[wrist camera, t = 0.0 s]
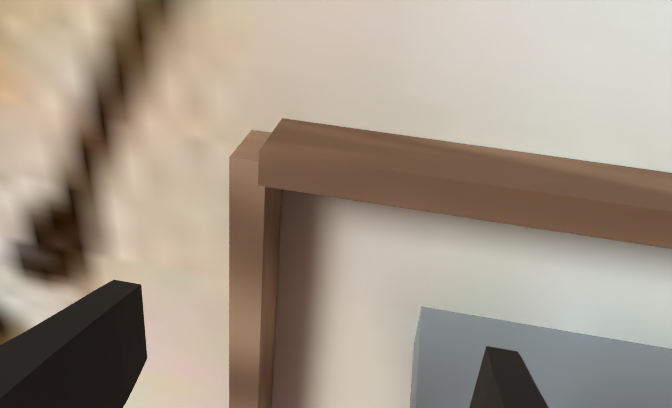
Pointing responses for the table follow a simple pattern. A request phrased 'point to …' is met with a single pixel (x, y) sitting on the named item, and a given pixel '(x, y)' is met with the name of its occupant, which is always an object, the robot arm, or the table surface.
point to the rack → (413, 193)
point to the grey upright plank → (536, 364)
